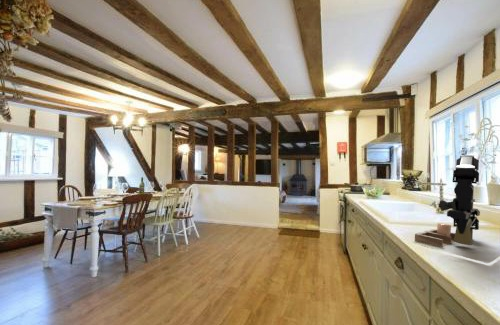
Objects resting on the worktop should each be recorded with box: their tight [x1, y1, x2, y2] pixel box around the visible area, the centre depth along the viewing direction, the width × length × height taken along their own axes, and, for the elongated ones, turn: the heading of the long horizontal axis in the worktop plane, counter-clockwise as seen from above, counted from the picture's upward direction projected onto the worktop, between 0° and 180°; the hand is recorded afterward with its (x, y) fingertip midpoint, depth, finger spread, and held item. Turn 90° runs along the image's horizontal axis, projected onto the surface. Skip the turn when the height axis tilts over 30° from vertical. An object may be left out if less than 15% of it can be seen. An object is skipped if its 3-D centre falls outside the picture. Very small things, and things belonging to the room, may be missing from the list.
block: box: [436, 222, 452, 236], centre depth 115 cm, size 5×5×7 cm
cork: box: [454, 218, 473, 246], centre depth 104 cm, size 6×6×11 cm
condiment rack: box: [414, 228, 455, 248], centre depth 113 cm, size 20×10×4 cm, turn 124°
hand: (463, 233), depth 104 cm, fingers closed on cork, 4 cm apart
